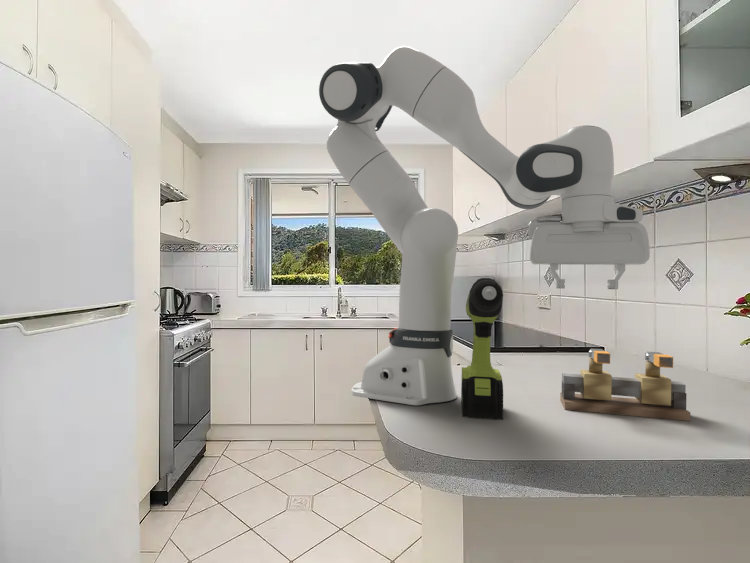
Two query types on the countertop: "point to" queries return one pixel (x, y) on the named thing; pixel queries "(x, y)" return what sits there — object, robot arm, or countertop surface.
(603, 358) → the left valve lever
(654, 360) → the right valve lever
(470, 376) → the cordless drill
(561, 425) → the countertop surface
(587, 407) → the valve manifold
